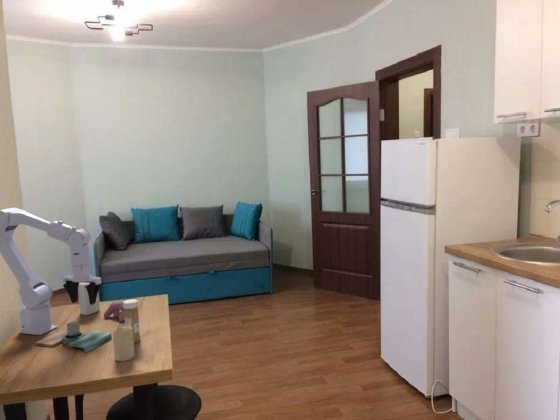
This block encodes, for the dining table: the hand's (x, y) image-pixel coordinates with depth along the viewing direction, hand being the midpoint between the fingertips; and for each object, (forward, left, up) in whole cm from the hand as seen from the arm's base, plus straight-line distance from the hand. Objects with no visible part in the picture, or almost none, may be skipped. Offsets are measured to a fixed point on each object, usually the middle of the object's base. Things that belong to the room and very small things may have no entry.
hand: (83, 303), depth 159 cm
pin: (+4, -10, -9) cm, 14 cm away
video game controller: (+4, +12, -10) cm, 16 cm away
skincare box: (-11, +15, -10) cm, 21 cm away
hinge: (+4, -10, -9) cm, 14 cm away
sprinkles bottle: (+23, -5, -10) cm, 25 cm away
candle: (+28, -16, -10) cm, 34 cm away
